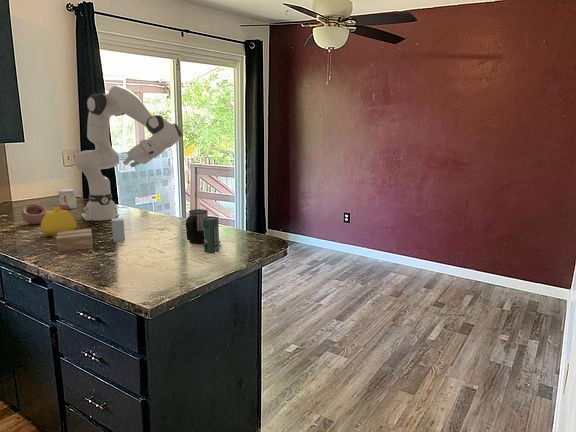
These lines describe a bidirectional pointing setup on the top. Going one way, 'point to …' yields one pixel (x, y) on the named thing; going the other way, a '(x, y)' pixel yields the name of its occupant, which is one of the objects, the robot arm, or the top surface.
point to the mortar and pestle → (33, 213)
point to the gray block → (118, 229)
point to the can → (211, 234)
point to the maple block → (74, 239)
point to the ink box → (67, 199)
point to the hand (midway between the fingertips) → (127, 164)
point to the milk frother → (196, 226)
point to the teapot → (57, 222)
